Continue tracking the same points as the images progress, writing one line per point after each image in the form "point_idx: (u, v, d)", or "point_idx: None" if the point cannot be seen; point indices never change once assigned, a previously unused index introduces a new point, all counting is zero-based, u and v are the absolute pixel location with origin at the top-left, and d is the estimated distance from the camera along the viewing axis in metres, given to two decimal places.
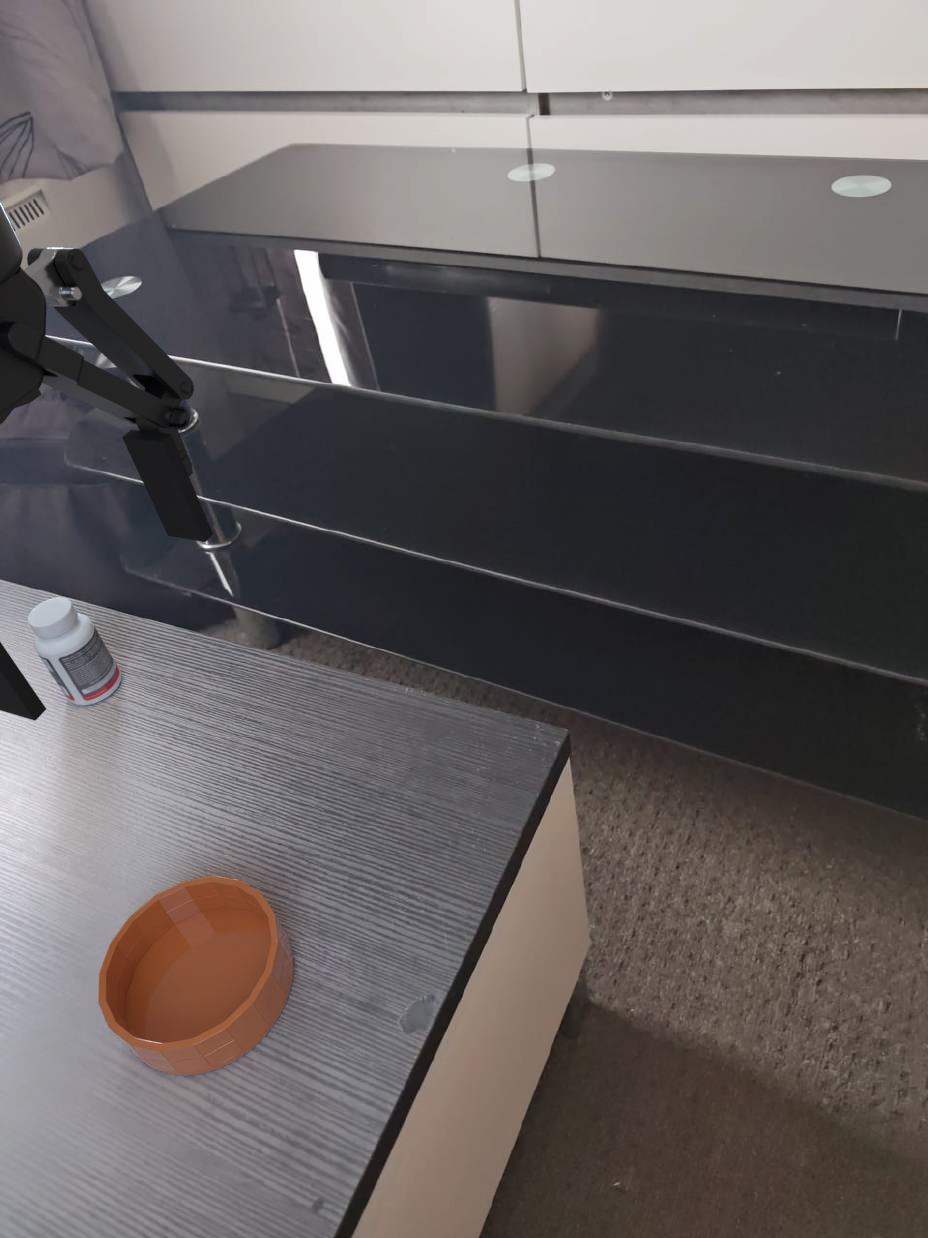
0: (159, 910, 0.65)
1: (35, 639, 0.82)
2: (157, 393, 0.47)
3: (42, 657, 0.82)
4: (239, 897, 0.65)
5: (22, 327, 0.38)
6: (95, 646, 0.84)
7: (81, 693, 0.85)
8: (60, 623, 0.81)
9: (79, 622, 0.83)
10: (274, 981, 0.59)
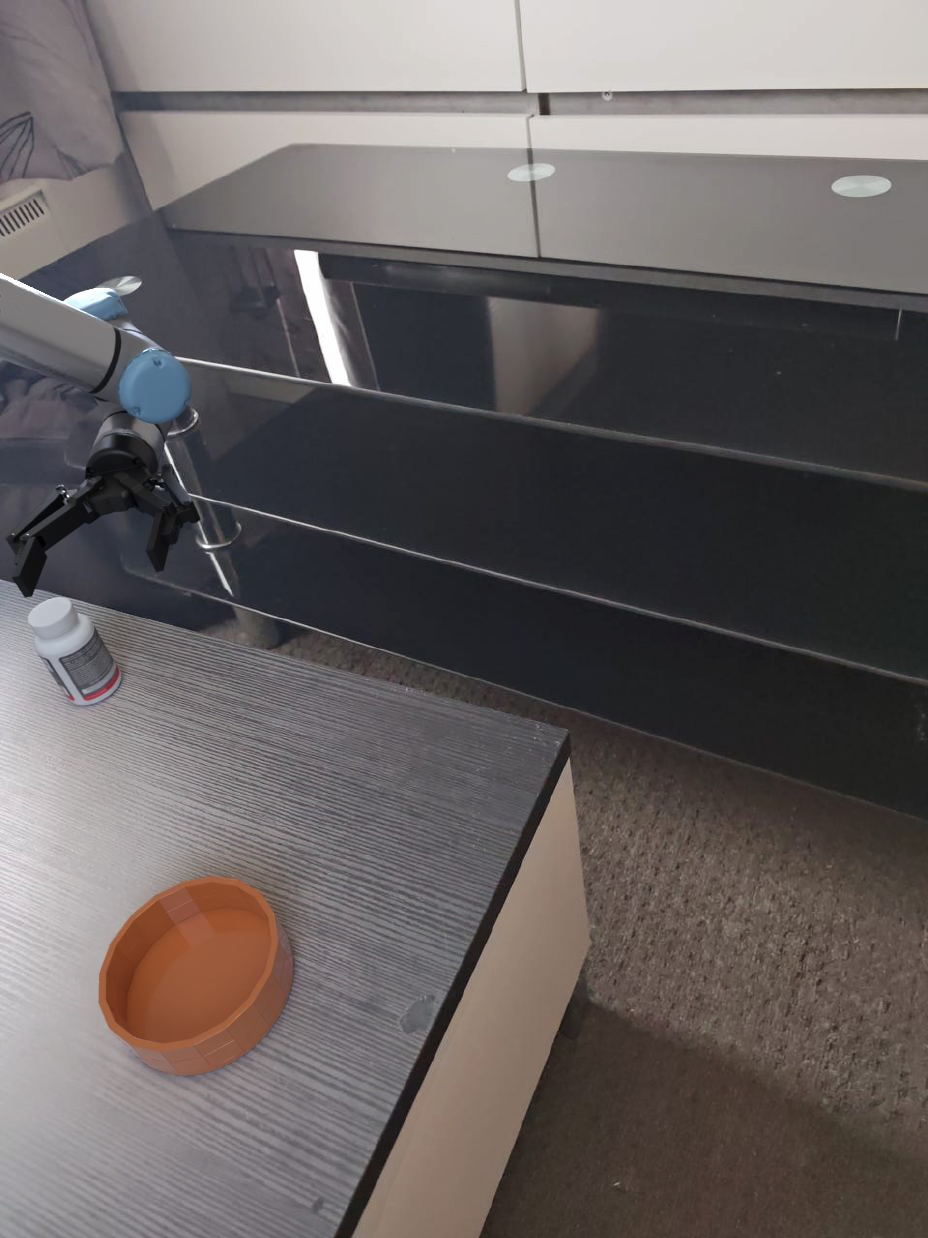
0: (159, 910, 0.65)
1: (35, 639, 0.82)
2: None
3: (42, 657, 0.82)
4: (239, 897, 0.65)
5: None
6: (95, 646, 0.84)
7: (81, 693, 0.85)
8: (60, 623, 0.81)
9: (79, 622, 0.83)
10: (274, 981, 0.59)
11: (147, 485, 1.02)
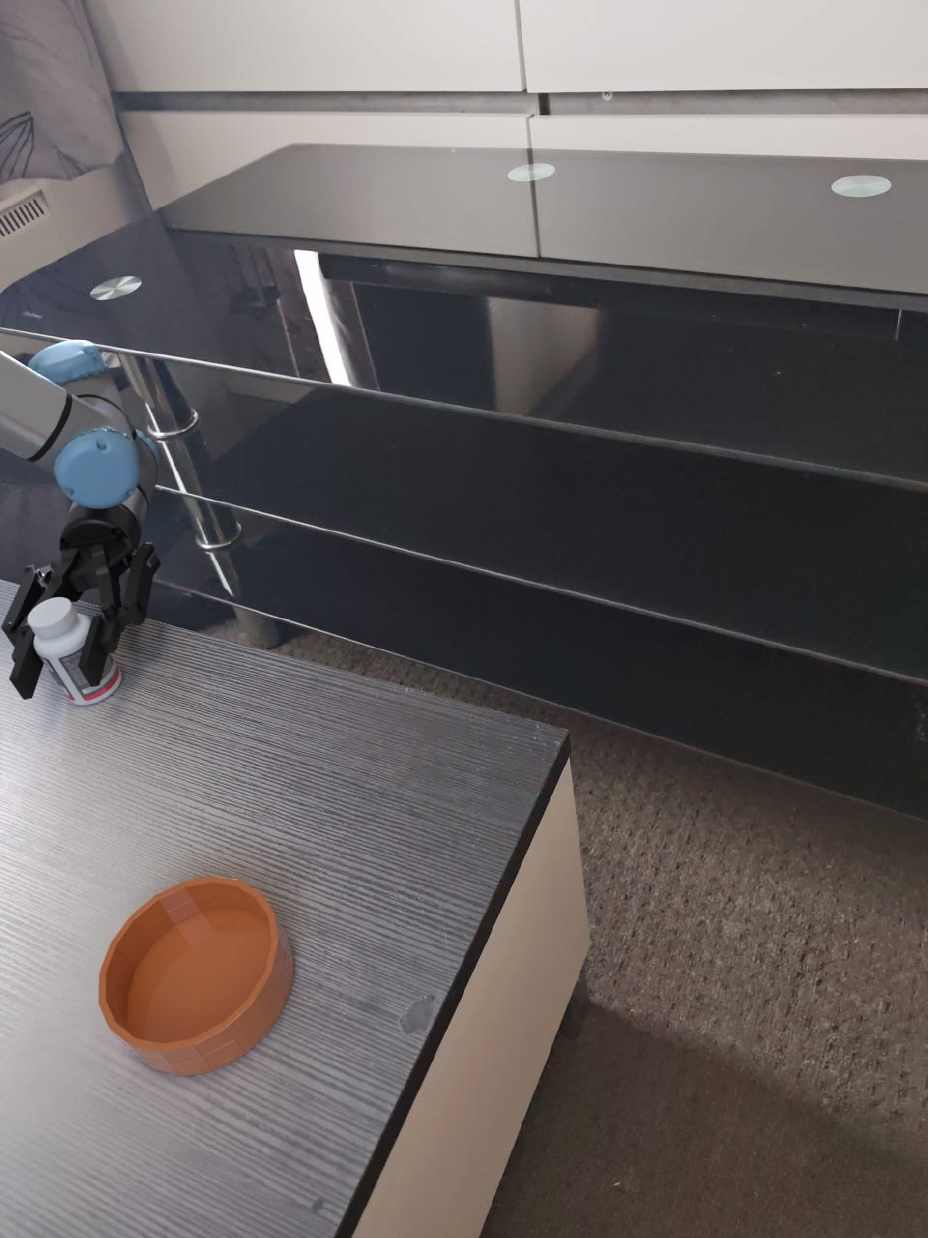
0: (159, 910, 0.65)
1: (35, 639, 0.82)
2: None
3: (42, 657, 0.82)
4: (239, 897, 0.65)
5: None
6: None
7: (81, 693, 0.85)
8: (60, 623, 0.81)
9: (79, 622, 0.83)
10: (274, 981, 0.59)
11: None
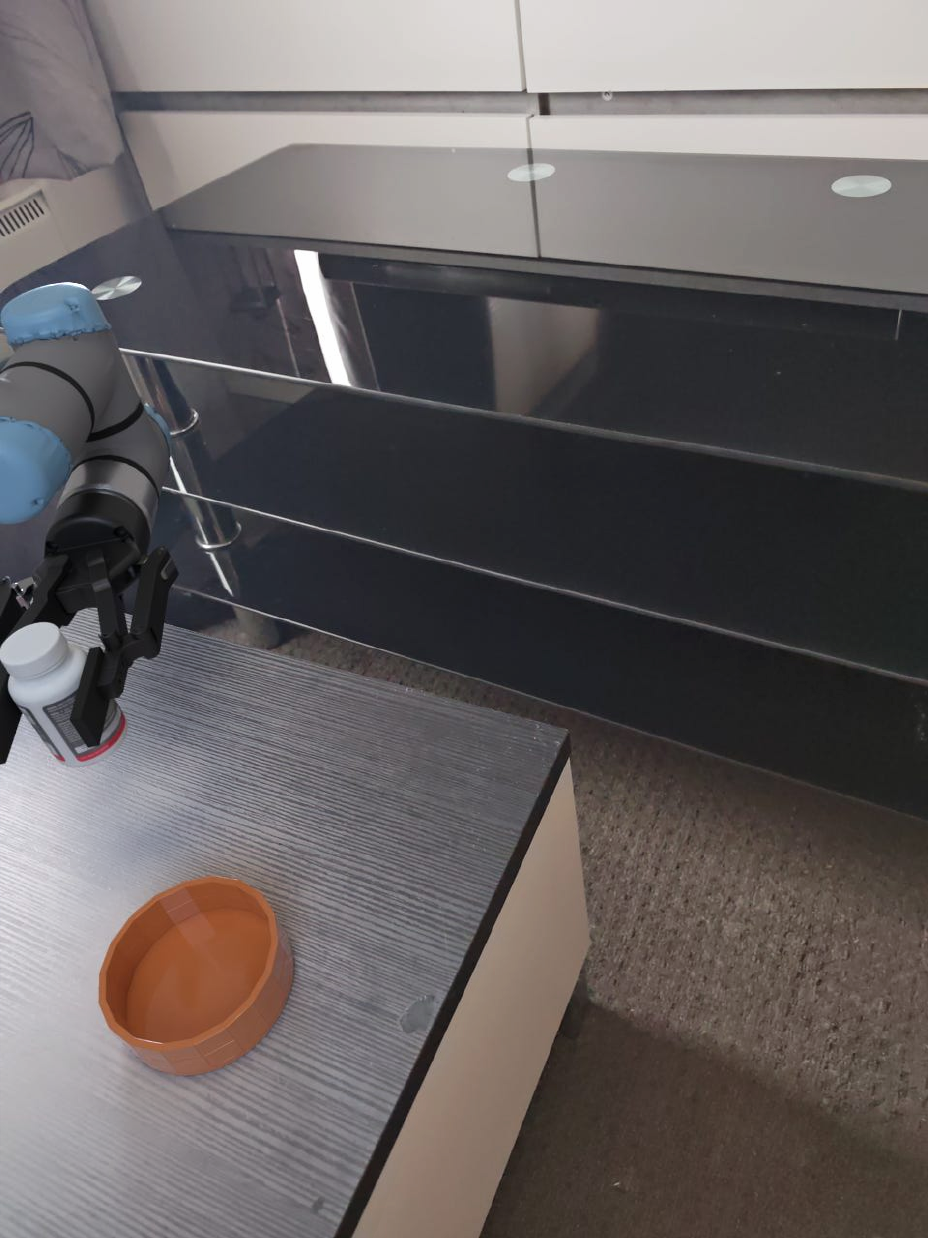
0: (159, 910, 0.65)
1: (10, 680, 0.60)
2: None
3: (20, 705, 0.60)
4: (239, 897, 0.65)
5: None
6: None
7: (74, 752, 0.62)
8: (45, 660, 0.58)
9: (70, 657, 0.60)
10: (274, 981, 0.59)
11: None
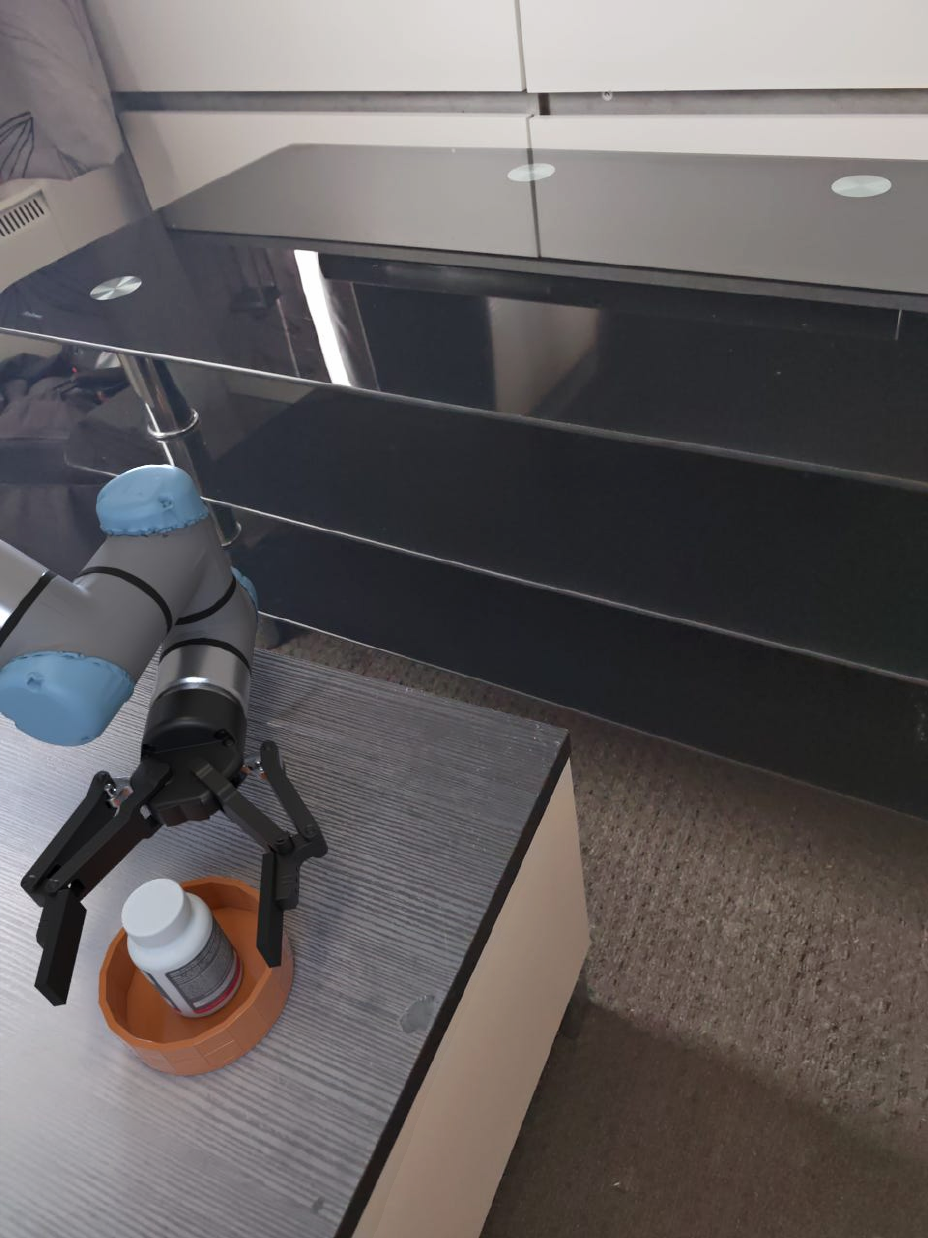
0: None
1: (130, 941, 0.57)
2: None
3: (141, 969, 0.57)
4: (239, 897, 0.65)
5: None
6: (213, 946, 0.58)
7: (192, 1006, 0.60)
8: (170, 929, 0.55)
9: (192, 915, 0.58)
10: (274, 981, 0.59)
11: (237, 774, 0.67)
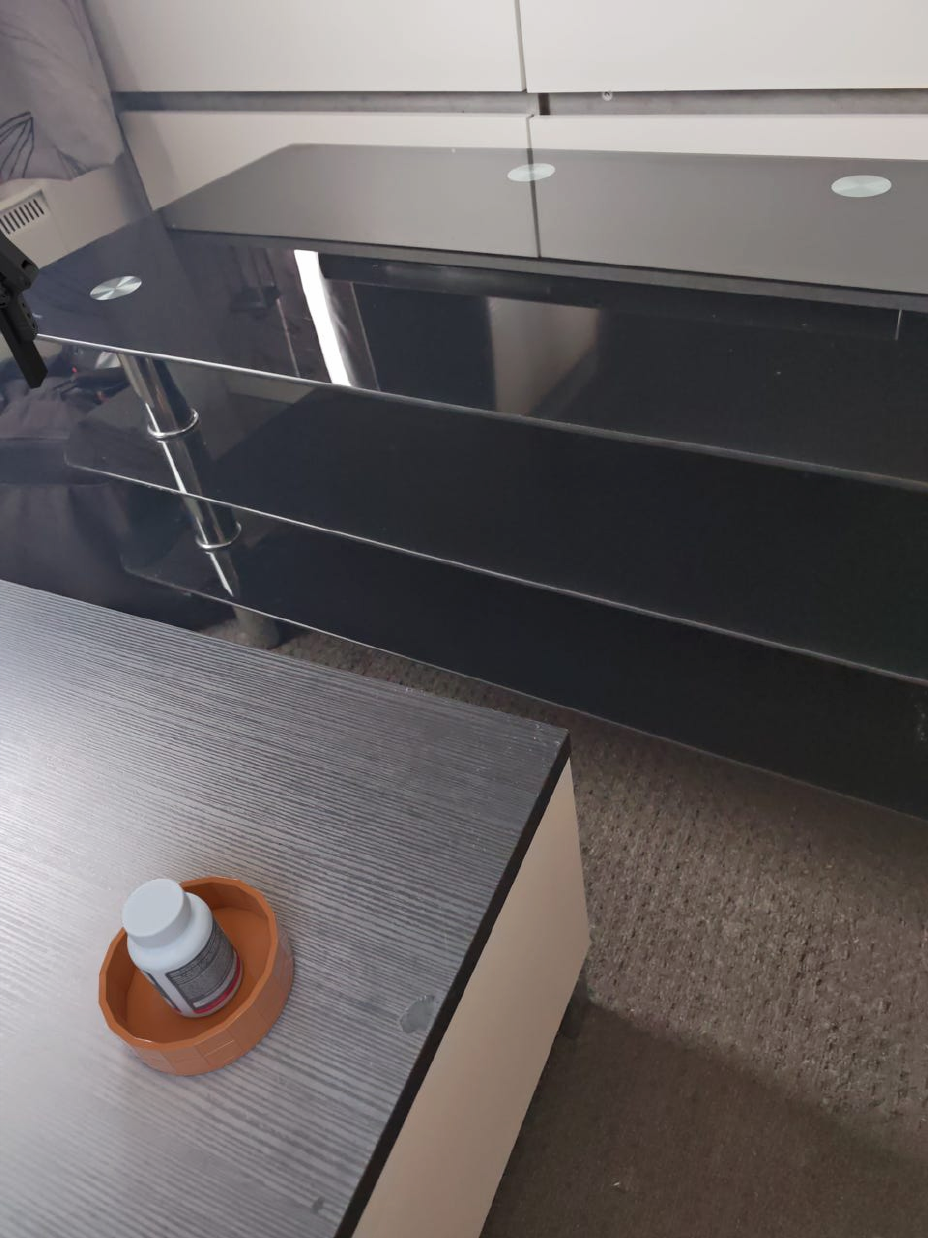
0: None
1: (130, 941, 0.57)
2: None
3: (141, 969, 0.57)
4: (239, 897, 0.65)
5: None
6: (213, 946, 0.58)
7: (192, 1006, 0.60)
8: (170, 929, 0.55)
9: (192, 915, 0.58)
10: (274, 981, 0.59)
11: None
